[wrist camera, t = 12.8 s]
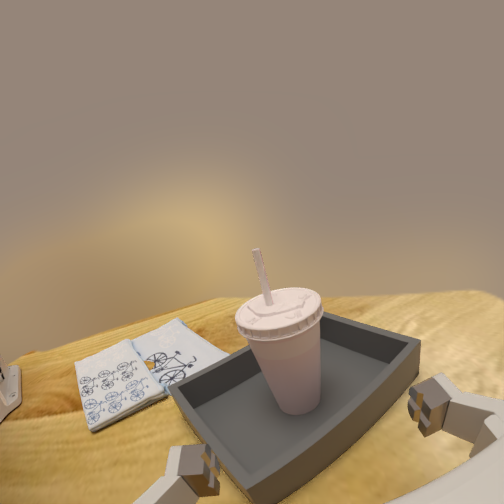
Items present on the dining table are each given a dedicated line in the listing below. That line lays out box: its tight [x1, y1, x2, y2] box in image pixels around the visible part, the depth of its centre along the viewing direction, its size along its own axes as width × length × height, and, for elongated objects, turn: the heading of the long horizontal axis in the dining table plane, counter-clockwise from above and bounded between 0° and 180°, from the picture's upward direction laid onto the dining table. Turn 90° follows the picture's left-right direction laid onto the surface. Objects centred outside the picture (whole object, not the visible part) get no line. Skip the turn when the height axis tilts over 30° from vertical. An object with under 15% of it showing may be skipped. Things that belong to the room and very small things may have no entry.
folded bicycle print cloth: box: [74, 318, 230, 432], centre depth 36 cm, size 19×20×2 cm
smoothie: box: [235, 248, 324, 415], centre depth 22 cm, size 6×6×14 cm
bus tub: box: [167, 311, 421, 504], centre depth 23 cm, size 14×18×4 cm
